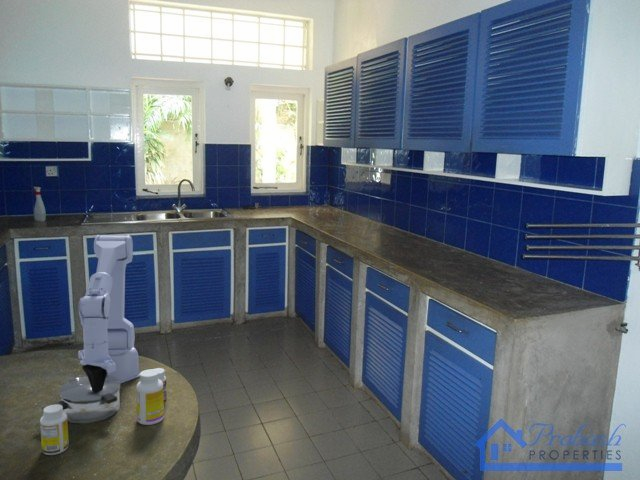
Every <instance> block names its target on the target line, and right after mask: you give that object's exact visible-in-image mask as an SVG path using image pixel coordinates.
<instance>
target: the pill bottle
mask: <svg viewBox="0 0 640 480" xmlns="http://www.w3.org/2000/svg"><path fill="white" fill-rule="evenodd" d="M154 369H155V370H158V371H159V378H158V379H159V380H161V381H162V382H163V399H164V401H165V400H166V399H167V396H168V395H167V376H166V375H165V374H166V372H165V368H162V367H156V368H154Z"/></svg>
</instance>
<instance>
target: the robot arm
mask: <svg viewBox="0 0 640 480" xmlns="http://www.w3.org/2000/svg"><path fill="white" fill-rule="evenodd" d="M93 251H94V255H95V256H96V258H97V259H98V261H97V266H96V272H95V273H93V274H92V275H91V276H90V277H89V282H88V286H87V288H86V291H85V295H84V296H83V297H81V298H80V299H79V302H78V316H79V319H80V325H81V326H82V334H83V336H82V337H83V341H82V342H83V349H82V350H78V351H77V352H78V353H77V354H78V359H80V361H79V364H81V365H82V367H81V368H82V370H83V371H84V373H85V376H87V377H88V379H89V382H90V385H91V388H92V391H94V392H98V391H101V390H103V386H104V382H105V378H106V376H107V375H110V376H114V377H116V378H118V379H119V380H120V385H121V384H123V383H126V382H128V381H131V380H134V379H136V378H140V365H139V364H140V362H139V359H140V358H139V353H138V350H137V349H136V347H135V340H136V339H135V338H136V335H135V326H134V324H133V322H131V321H130V320H128V319H127V318H125V305H126V303H125V300H126V299H125V296H126V295H125V293H126V288H125V287H126V268H127V265H128V264H130V263H132V262H133V255H134V253H133V251H134V243H133V238H132V236H131V235H129V234H127V235H101V234H97V235H96V236H95V238H94V241H93Z"/></svg>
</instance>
